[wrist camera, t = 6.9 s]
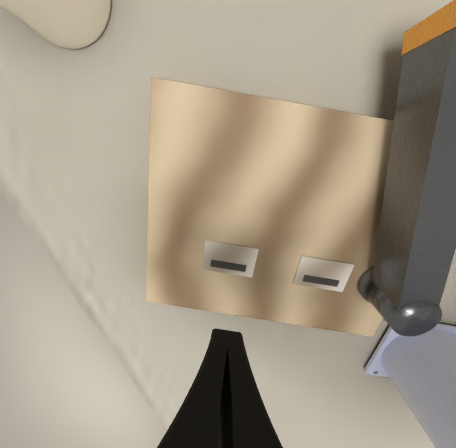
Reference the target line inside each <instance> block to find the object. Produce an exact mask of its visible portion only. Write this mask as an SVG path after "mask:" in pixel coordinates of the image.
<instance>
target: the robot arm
mask: <svg viewBox="0 0 456 448" xmlns="http://www.w3.org/2000/svg"><path fill="white" fill-rule="evenodd" d="M365 371H366V373H367V374H369V375H375V376H381V377H388V378H391V380H392V381H393V383H394V384H395V386H396V387H397V389H398V391H399V392H400V394H401V395H402V397H403V398H404V400H405V401H406V403H407V404H408V406H409V407H410V409H411V411H412V412H413V414H414V415H415V417H416V418H417V420H418V421H419V423H420V424H421V426H422V428H423V429H424V431H425V432H426V434H427V435H428V437H429V438H430V440H431V441H432V443H433V444H434V446H435V448H456V326H451V325H445V324H439V323H438V324H437V325H436V326H435V327H434V328H433V329H432V330H430V331H428V332H426V333H424V334H422V335H418V336H402V335H399V334H397V333H396V332H395V331H394V330H393V329H392V328H391V327H389V328H388V330H387V332H386V333H385V335H384V337H383V338H382V340H381V342H380V344H379V345H378V347H377V349H376V350H375V352H374V354H373V355H372V357H371V359H370V360H369V362H368V364H367V365H366V367H365ZM157 448H283V447H282V445H281V443H280V441H279V439H278V436H277V434H276V432H275V430H274V428H273V425H272V423H271V421H270V418H269V416H268V414H267V411H266V409H265V406H264V404H263V401H262V399H261V396H260V393H259V391H258V388H257V385H256V382H255V379H254V376H253V374H252V371H251V367H250V364H249V361H248V357H247V354H246V350H245V346H244V342H243V337H242V334H241V333H240V332H234V331H228V330H221V329H213V330H212V335H211V339H210V343H209V346H208V349H207V352H206V355H205V357H204V360H203V362H202V364H201V367H200V369H199V371H198V374H197V376H196V378H195V380H194V382H193V384H192V386H191V388H190V390H189V392H188V394H187V396H186V398H185V400H184V402H183V404H182V406H181V408H180V409H179V411H178V413H177V415H176V417H175V418H174V420H173V422H172V424H171V425H170V427H169V429H168V430H167V432H166V434H165V435H164V437H163V439H162V440H161V442H160V444H159V445H158V447H157Z"/></svg>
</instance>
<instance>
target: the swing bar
mask: <svg viewBox="0 0 456 448" xmlns="http://www.w3.org/2000/svg"><path fill="white" fill-rule="evenodd" d="M401 55H403V57H402V65H401V72H400V79H399V87H398V94H397V101H396V109H395V116H394V123H393V131H392V138H391V145H390V153H389V160H388V168H387V175H386V182H385V190H384V197H383V204H382V212H381V219H380V226H379V234H378V241H377V248H376V256H375V263H374V270H373V278H372V282H371V283H370V284H369V286H368V287H367V290H366V296H367V299H368V300H369V301H370V303H371V304H372V305H373V306H374V307H375V309H376V310H377V311H378V312H379V314H380V315H381V316H382V317H383V318H384V320H385V321H386V322H387V323H388V324H389V326H390V327H391V328H392V329H393V330H394V331H395V332H396V333H397V334H399V335H402V336H418V335H422V334H424V333H426V332H428V331H430V330H432V329H433V328H434V327H435V326H436V325H437V324H438V323H439V321H440V319H441V316H442V312H441V309H440V307H439V304H440V301H441V297H442V294H443V290H444V287H445V283H446V280H447V276H448V273H449V269H450V266H451V262H452V259H453V255H454V252H455V248H456V0H453V1H452V2H450V3H449V4H447V5H446V6H444V7H443V8H441V9H440V10H438V11H437V12H435V13H434V14H432V15H431V16H429V17H427V18H426V19H424V20H423V21H421V22H420V23H418V24H417V25H415V26H414V27H412V28H411V29H409V30H408V31H406V32H404V38H403V46H402V53H401Z"/></svg>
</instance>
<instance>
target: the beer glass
mask: <svg viewBox="0 0 456 448" xmlns="http://www.w3.org/2000/svg"><path fill="white" fill-rule="evenodd" d="M0 6H2V7H3V8H5V9H6V10H8V11H10V12H11V13H12V14H14V15H15V16H17V17H18V18H19V19H21V20H22V21H23V22H24V23H26V24H27V25H28V26H29V27H30V28H32V29H33V30H34V31H35V32H37V33H38V34H39V35H40V36H42V37H43V38H45V39H46V40H48V41H49V42H51V43H53V44H55V45H57V46H60V47H64V48H69V49H79V48H83V47H86V46H88V45H90V44H92V43H93V42H95V41H96V40H97V39H98V38H99V37H100V35H101V34H102V33H103V31H104V29H105V27H106V25H107V22H108V19H109V15H110V9H111V0H0Z"/></svg>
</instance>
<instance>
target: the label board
mask: <svg viewBox="0 0 456 448" xmlns="http://www.w3.org/2000/svg"><path fill="white" fill-rule="evenodd" d="M393 123H394V121H393V120H387V119H381V118H376V117H370V116H365V115H359V114H353V113H348V112H342V111H337V110H331V109H326V108H320V107H314V106H309V105H303V104H298V103H292V102H287V101H281V100H275V99H270V98H264V97H259V96H253V95H247V94H242V93H236V92H231V91H225V90H220V89H214V88H208V87H203V86H197V85H192V84H186V83H181V82H175V81H169V80H164V79H158V78H153V77H151V100H150V144H149V188H148V232H147V275H146V301H149V302H155V303H161V304H168V305H174V306H180V307H187V308H193V309H200V310H206V311H212V312H219V313H225V314H231V315H238V316H244V317H251V318H257V319H263V320H270V321H276V322H282V323H289V324H295V325H302V326H308V327H314V328H321V329H327V330H333V331H340V332H346V333H353V334H359V335H365V336H372V337H373V336H374V334H375V332H376V331H377V329H378V327H379V325H380V323H381V322H382V320H383V317H382V316H381V315H380V314H379V312H378V311H377V310H376V309H375V307H374V306H373V305H372V304H371V303H370V301H369V300H368V299H367V296H366V290H367V287H368V286H369V284H370V283H371V282H372V278H373V270H374V263H375V256H376V248H377V241H378V234H379V226H380V219H381V212H382V204H383V197H384V190H385V182H386V175H387V168H388V160H389V153H390V145H391V138H392V131H393Z"/></svg>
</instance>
